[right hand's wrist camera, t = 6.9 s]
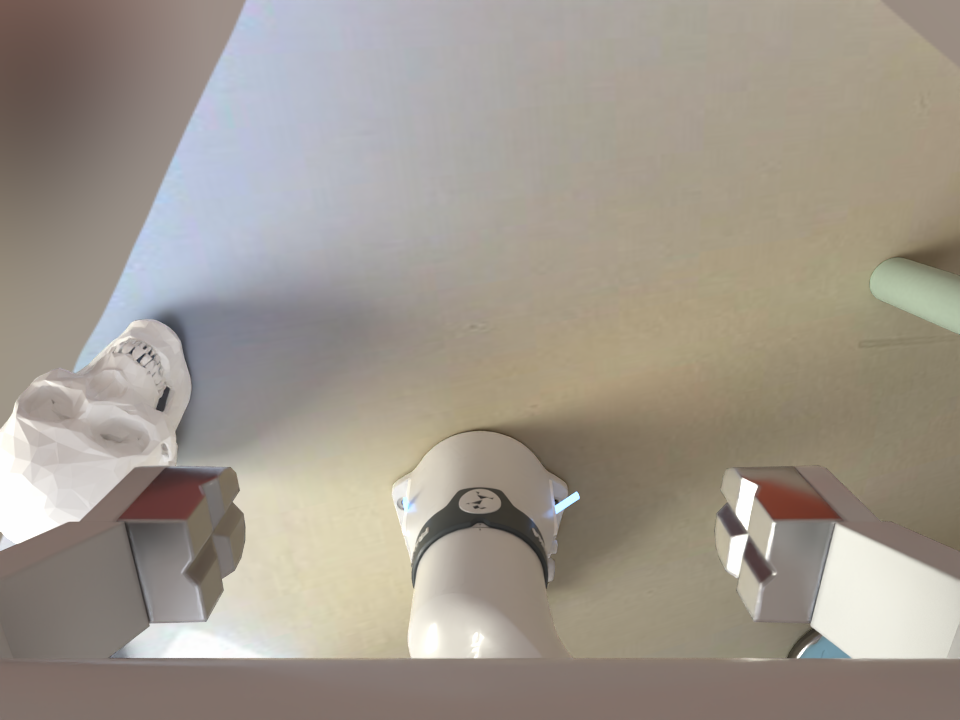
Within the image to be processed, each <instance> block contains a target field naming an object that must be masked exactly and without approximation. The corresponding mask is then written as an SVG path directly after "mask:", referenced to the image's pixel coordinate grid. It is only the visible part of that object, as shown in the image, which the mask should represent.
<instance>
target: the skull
mask: <svg viewBox="0 0 960 720" xmlns="http://www.w3.org/2000/svg"><path fill="white" fill-rule="evenodd" d="M140 343H141V344H140ZM139 344H140V345H139ZM138 345H139V346H138ZM144 346H146V347H147V348H146V349H145V350H144V349H143V347H144ZM133 347H135V349H134V350H133V352H132V355H131V354H129V352H130V351H131V350H132V349H133ZM150 350H152V352H151V354H150V355H148V352H149V351H150ZM143 354H146V355H144V357H143V358H142V360H141V361H140V364H139V363H138V362H137V361H136V360H137V359H138V358H139V357H140V356H142V355H143ZM152 355H154V356H155V357H154V359H153V360H152V361H151V362H149V361H150V360H151V359H152V357H151V356H152ZM148 362H149V363H148ZM147 363H148V364H147ZM146 364H147V365H146ZM157 364H158V365H157ZM145 365H146V366H145ZM143 366H145V368H144V367H143ZM152 375H153V376H152ZM166 386H167V387H169V388H170V391H169V394H168V397H167V401H166V406H165V410H164V411H163V412H161V411H158V410H156V407H157V404H158V401H159V398H160V397H162V395H163V391H164V389H165V388H166ZM191 388H192V386H191V379H190V375H189V371H188V368H187V365H186V362H185V359H184V355H183V350H182V345H181V341H180V339H179V338H178V336H177V335H176V333H175V332H174V331H173V330H172V329H171V328H170V327H168V326H166V325H165V324H163V323H161V322H159V321H157V320H154V319H142V320H135V321H133V322H132V323H131V324H130V325H129V326H128V327H127V329H126V330H125V331H124V332H123V333H122V334H121V335H120V336H119V337H118V338H117V339H115V340H113V341H112V342H111V343H110V344H109V345H108V346H107V347H106V348H105V349H104V350H102V351H101V352H100V353H99V354H98V355H97V356H96V357H95V358H94V359H93V360H92V361H91V362H90V363H89V365H87V366H86V367H84V368H83V369H81V370H80V371H78V372H77V373H72V372H70V371H67V370H65V369H63V368H60V367H59V368H57V369H54V370H51V371H49V372H47V373H45V374H42V375H40V376H39V377H37V378H36V379H35V380H34V381H33V382H32V383H31V384H30V385H29V387H28V388H27V389H26V390H25V391H24V392H23V393H22V394H21V396H20V397H19V398H18V399H17V400H16V402H15V406H14V411H13V413H12V415H11V417H10V418H9V420H8V421H7V422H6V423H5V424H4V426H3V427H2V428H1V429H0V531H1V532H2V533H3V534H4V535H5V536H6V537H7V538H9V539H10V540H11V541H13V542H14V543H16V544H18V543H21V542H23V541H25V540H28V539H30V538H32V537H35V536H37V535H39V534H42V533H44V532H46V531H48V530H51V529H53V528H55V527H58V526H60V525H62V524H65V523H67V522H79V521H80V520H81V519H82V518H83V517H84V516H85V515H86V514H87V513H88V512H89V511H90V510H91V509H92V508H93V507H94V506H96V505H97V504H98V503H99V502H100V501H101V500H102V499H103V498H104V497H105V496H106V495H107V494H108V493H109V492H110V491H111V490H112V489H113V488H114V487H115V486H116V485H117V484H118V483H119V482H120V481H121V480H122V479H123V478H124V477H125V476H126V475H127V474H128V473H129V472H130V471H131V470H132V469H133V468H134V467H140V466H165V465H168V466H176V460H177V448H178V444H177V443H176V434H175V431H176V429H177V427H178V425H179V422H180V420H181V418H182V416H183V414H184V412H185V409H186V407H187V405H188V403H189V400H190V395H191Z"/></svg>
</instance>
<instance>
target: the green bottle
mask: <svg viewBox="0 0 960 720" xmlns="http://www.w3.org/2000/svg"><path fill="white" fill-rule="evenodd" d="M870 290H871V292H872V294H873V295H874V297H876V298H877V299H879V300H881V301H883V302H886V303H888V304H890V305H893V306H895V307H897V308H899V309H902V310H904V311H906V312H909V313H911V314H913V315H915V316H918V317H920V318H922V319H925V320H927V321H929V322H931V323H934V324H936V325H938V326H941V327H943V328H945V329H947V330H950V331H952V332H954V333H957V334H959V335H960V275H956V274H953V273H950V272H947V271H944V270H940V269H937V268H934V267H931V266H928V265H924V264H921V263H918V262H915V261H912V260H909V259H905V258H901V257H895V258H890V259H888V260H886V261H884V262H882V263H881V264H880V265H879V266H878V267H877V268H876V269H875V270H874V272H873V273H872V275H871V278H870Z"/></svg>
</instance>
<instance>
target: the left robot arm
mask: <svg viewBox="0 0 960 720" xmlns="http://www.w3.org/2000/svg"><path fill="white" fill-rule="evenodd" d="M788 658H851V657H850V656H849V655H847V654H846V653H845V652H843V651H842V650H841V649H839V648H838V647H837V646H836V645H834V644H833V643H832V642H830V641H829V640H828V639H827V638H825V637H824V636H823V635H821V634H820V633H819V632H818V631H816V630H815V629H812V630H811V631H809V632H808V633H807V634H805V635H804V636H803V637H802V638H801V639H800V640H799V641H798V642H797V643H796V644H795V646H794V647H793V648H792V650H791V652H790V653H789V655H788Z"/></svg>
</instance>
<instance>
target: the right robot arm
mask: <svg viewBox="0 0 960 720" xmlns="http://www.w3.org/2000/svg"><path fill="white" fill-rule="evenodd" d="M239 491H240V489H239V484H238V479H237V475H236V472H235V471H234V470H233V469H232V468H231V467H199V466H168V465H165V466H140V467H134V468H133V469H132V470H131V471H130V472H129V473H128V474H127V475H126V476H125V477H124V478H123V479H122V480H121V481H120V482H119V483H118V484H117V485H116V486H115V487H114V488H113V489H112V490H111V491H110V492H109V493H108V494H107V495H106V496H105V497H104V498H103V499H102V500H101V501H100V502H99V503H98V504H97V505H96V506H94V507H93V508H92V509H91V510H90V511H89V512H88V513H87V514H86V515H85V516H84V517H83V518H82V519H81V520H80V521H79V522H67V523H65V524H62V525H60V526H58V527H55V528H53V529H51V530H48V531H46V532H44V533H42V534H39V535H37V536H35V537H32V538H30V539H28V540H25V541H23V542H21V543H18V544H16V545H14V546H12V547H9V548H7V549H5V550H2V551H0V720H960V551H958V550H955V549H953V548H951V547H948V546H946V545H944V544H941V543H939V542H937V541H935V540H932V539H930V538H928V537H925V536H923V535H921V534H918V533H916V532H914V531H912V530H909V529H907V528H905V527H902V526H900V525H898V524H895V523H893V522H881V521H880V520H879V519H878V518H877V517H876V516H875V515H874V514H873V513H872V512H871V511H870V510H869V509H868V508H867V507H866V506H865V505H864V504H863V503H862V502H860V501H859V500H858V499H857V498H856V497H855V496H854V495H853V494H852V493H851V492H850V491H849V490H848V489H847V488H846V487H845V486H844V485H843V484H842V483H841V482H840V481H839V480H838V479H837V478H836V477H835V476H834V475H833V474H832V473H831V472H830V471H829V470H828V469H827V468H825V467H822V466H819V465H812V466H781V467H740V468H727V469H726V471H725V473H724V475H723V478H722V484H721V489H720V491H721V492H722V494H723V495H724V497H725V499H726V500H727V503H726V504H725V505H724V506H723V507H722V508H721V509H720V510H719V511H718V512H717V514H716V522H715V530H714V533H715V544H716V550H717V553H718V556H719V559H720V561H721V563H722V565H723V567H724V569H725V571H727V572H728V573H730V574H731V575H733V576H734V577H736V578H737V579H738V583H737V589H736V591H737V593H738V594H739V596H740V598H741V600H742V602H743V603H744V605H745V607H746V609H747V610H748V612H749V614H750V616H751V618H752V619H753V621H754V622H780V623H811V625H810V626H811V627H812V628H814V629H815V630H816V631H818V632H819V633H820V634H821V635H823V636H824V637H825V638H827V639H828V640H829V641H830V642H832V643H833V644H834V645H836V646H837V647H838V648H839V649H841V650H842V651H843V652H845V653H846V654H847V655H849V656H850V657H851V658H573V657H572V656H571V655H570V653H569V652H568V651H567V649H566V648H565V646H564V645H563V643H562V642H561V640H560V638H559V636H558V634H557V632H556V629H555V626H554V622H553V619H552V615H551V611H550V607H549V602H548V597H547V592H546V588H547V583H548V582H551V581H553V578H554V573H555V561H554V560H553V559H550V556H551V554H556V553H557V548H558V542H557V540H555V539H556V536H557V532H558V529H559V526H560V522H561V519H562V515H563V512H564V508H566V507H567V506H569V505H570V504H572V503H573V502H575V501H576V500H578V499H579V494H578V493H577V492H575V493H574V494H572V495H571V496H569V497H568V486H567V484H566V483H565V482H564V481H563V480H561V479H560V478H558V477H557V476H555V475H553V474H552V473H550V472H548V471H547V470H546V469H545V468H544V467H543V466H542V464H541V463H540V461H539V460H538V459H537V457H536V456H535V455H534V454H533V453H532V451H531V450H529V449H528V448H527V447H526V446H525V445H523V444H522V443H520V442H519V441H517V440H515V439H513V438H511V437H509V436H506V435H503V434H500V433H495V432H488V431H472V432H465V433H460V434H457V435H454V436H451V437H449V438H447V439H445V440H443V441H441V442H440V443H438V444H437V445H435V446H434V447H433V448H432V449H431V450H429V452H428V453H427V454H426V455H425V456H424V457H423V459H422V460H421V461H420V463H419V464H418V466H417V467H416V468H415V469H414V470H413V471H412V472H410V473H408V474H407V475H405V476H403V477H402V478H400V479H399V480H397V481H396V482H395V483H394V484H393V486H392V498H393V501H394V505H395V508H396V512H397V515H398V519H399V522H400V525H401V529H402V532H403V536H404V539H405V543H406V546H407V549H408V553H409V556H410V560H411V563H412V564H411V567H412V583H413V588H414V594H413V601H412V608H411V615H410V622H409V630H408V647H409V653H410V656H411V658H109V657H110V656H112V655H113V654H114V653H116V652H117V651H118V650H119V649H121V648H122V647H123V646H125V645H126V644H127V643H128V642H130V641H131V640H132V639H134V638H135V637H136V636H138V635H139V634H140V633H141V632H143V631H144V630H145V629H147V628H148V627H149V626H150V625H149V623H179V622H206V621H207V619H208V618H209V616H210V614H211V612H212V610H213V609H214V607H215V605H216V603H217V602H218V600H219V598H220V596H221V594H222V593H223V591H224V589H223V583H222V579H223V578H224V577H226V576H227V575H229V574H230V573H232V572H233V571H235V569H236V567H237V565H238V563H239V561H240V559H241V557H242V552H243V548H244V544H245V520H244V514H243V512H242V511H241V510H240V509H239V508H238V507H237V506H236V505H235V504H234V503H233V500H234V499H235V497H236V495H237V494H238V492H239ZM554 499H557V501H556V502H554Z"/></svg>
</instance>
